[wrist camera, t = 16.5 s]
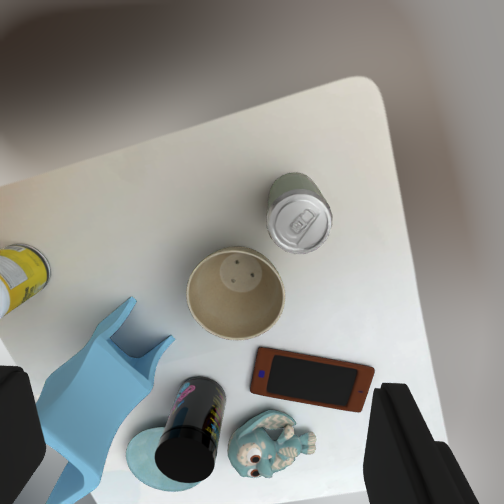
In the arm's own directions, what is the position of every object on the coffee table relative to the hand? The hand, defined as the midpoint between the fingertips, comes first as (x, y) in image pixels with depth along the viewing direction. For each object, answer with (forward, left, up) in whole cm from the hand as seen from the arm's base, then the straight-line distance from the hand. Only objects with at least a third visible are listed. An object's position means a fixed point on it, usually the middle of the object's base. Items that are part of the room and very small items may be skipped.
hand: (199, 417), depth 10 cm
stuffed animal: (+25, -23, -33) cm, 47 cm away
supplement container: (+14, -25, -33) cm, 43 cm away
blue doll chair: (+1, -25, -33) cm, 41 cm away
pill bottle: (-14, -26, -33) cm, 44 cm away
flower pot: (+5, -8, -33) cm, 34 cm away
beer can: (+3, +3, -33) cm, 33 cm away
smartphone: (+22, -13, -33) cm, 41 cm away
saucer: (+17, -36, -33) cm, 51 cm away
